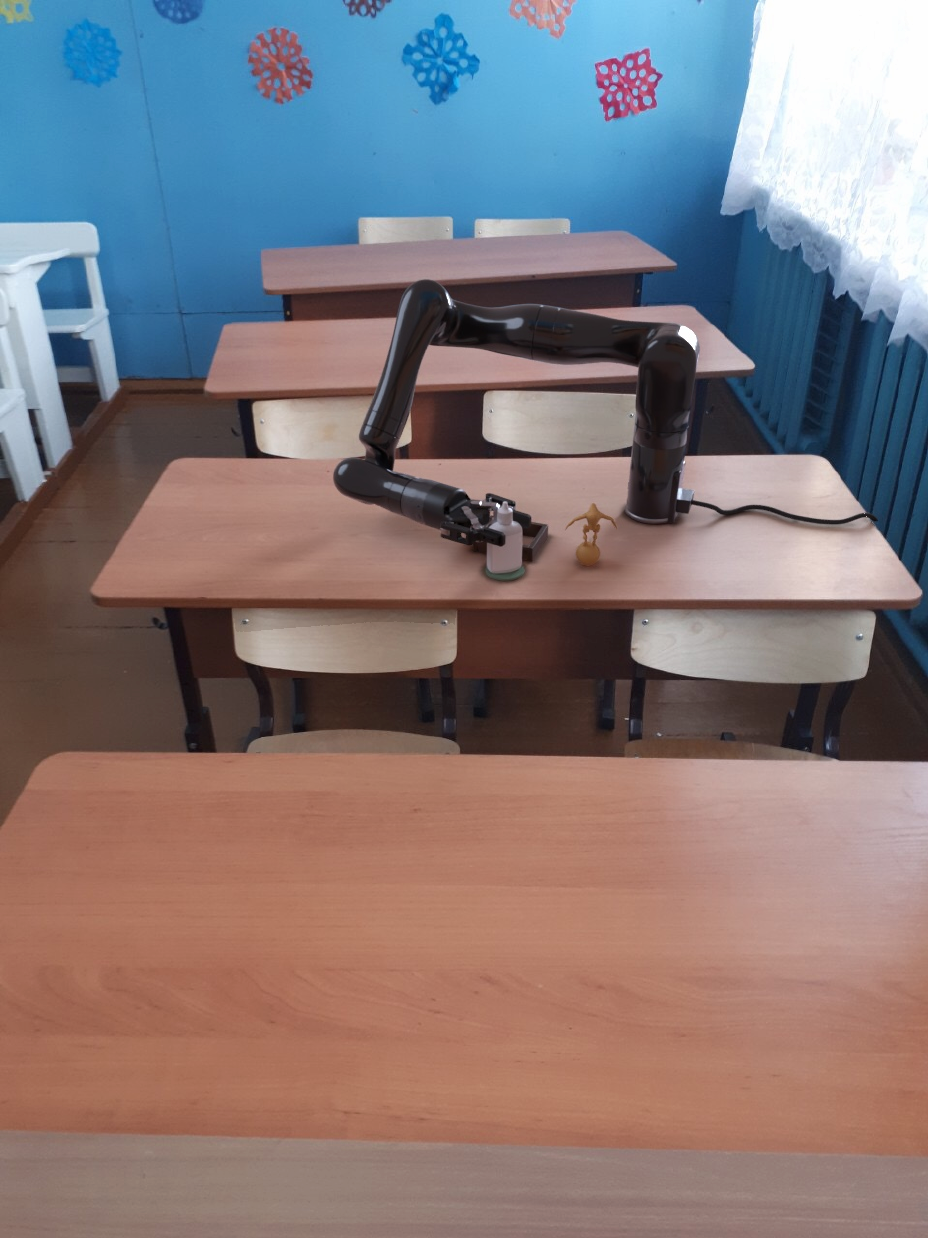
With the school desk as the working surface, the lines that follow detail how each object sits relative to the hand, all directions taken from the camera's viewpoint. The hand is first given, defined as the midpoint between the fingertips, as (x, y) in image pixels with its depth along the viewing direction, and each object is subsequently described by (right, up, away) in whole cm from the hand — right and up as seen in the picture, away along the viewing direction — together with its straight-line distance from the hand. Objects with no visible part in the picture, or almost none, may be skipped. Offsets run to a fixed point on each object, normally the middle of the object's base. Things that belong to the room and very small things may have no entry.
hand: (517, 530), depth 138 cm
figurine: (+12, -5, +6) cm, 15 cm away
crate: (0, -1, +13) cm, 13 cm away
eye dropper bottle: (-2, -6, +6) cm, 8 cm away
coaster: (-2, -6, +6) cm, 8 cm away
